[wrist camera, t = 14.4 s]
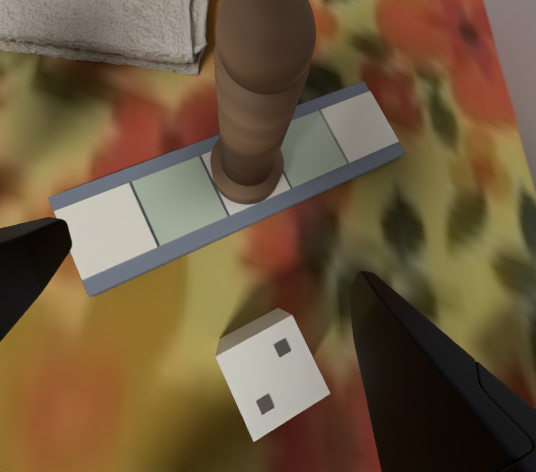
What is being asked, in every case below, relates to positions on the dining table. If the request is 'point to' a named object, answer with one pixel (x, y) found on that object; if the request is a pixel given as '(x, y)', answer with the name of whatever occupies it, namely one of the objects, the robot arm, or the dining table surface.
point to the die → (270, 371)
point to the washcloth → (109, 31)
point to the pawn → (257, 91)
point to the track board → (215, 190)
